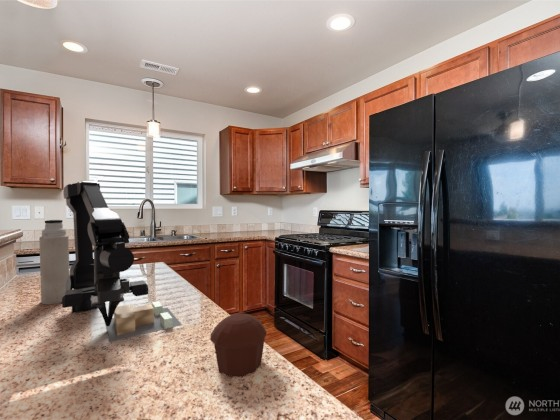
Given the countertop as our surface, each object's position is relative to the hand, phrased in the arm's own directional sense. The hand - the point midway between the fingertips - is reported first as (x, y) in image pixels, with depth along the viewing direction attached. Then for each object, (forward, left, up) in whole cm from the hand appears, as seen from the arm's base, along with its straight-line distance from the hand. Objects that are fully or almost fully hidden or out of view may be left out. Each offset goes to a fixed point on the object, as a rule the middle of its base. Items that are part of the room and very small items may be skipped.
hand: (108, 325), depth 76 cm
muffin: (+21, -33, -2) cm, 39 cm away
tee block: (+6, 0, -1) cm, 6 cm away
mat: (+8, 0, -2) cm, 8 cm away
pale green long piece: (+13, 0, -1) cm, 13 cm away
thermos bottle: (-13, +40, -2) cm, 42 cm away
